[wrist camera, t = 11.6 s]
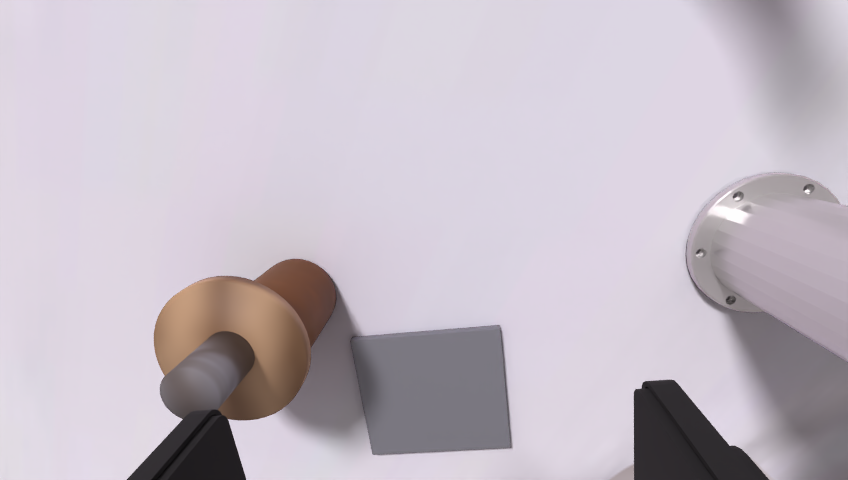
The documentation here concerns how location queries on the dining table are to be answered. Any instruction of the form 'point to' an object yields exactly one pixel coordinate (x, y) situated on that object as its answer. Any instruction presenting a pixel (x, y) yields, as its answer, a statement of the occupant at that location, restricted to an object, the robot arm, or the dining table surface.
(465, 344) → the rubber mat
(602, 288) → the dining table surface
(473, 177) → the dining table surface
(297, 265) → the mug
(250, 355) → the copper lid
